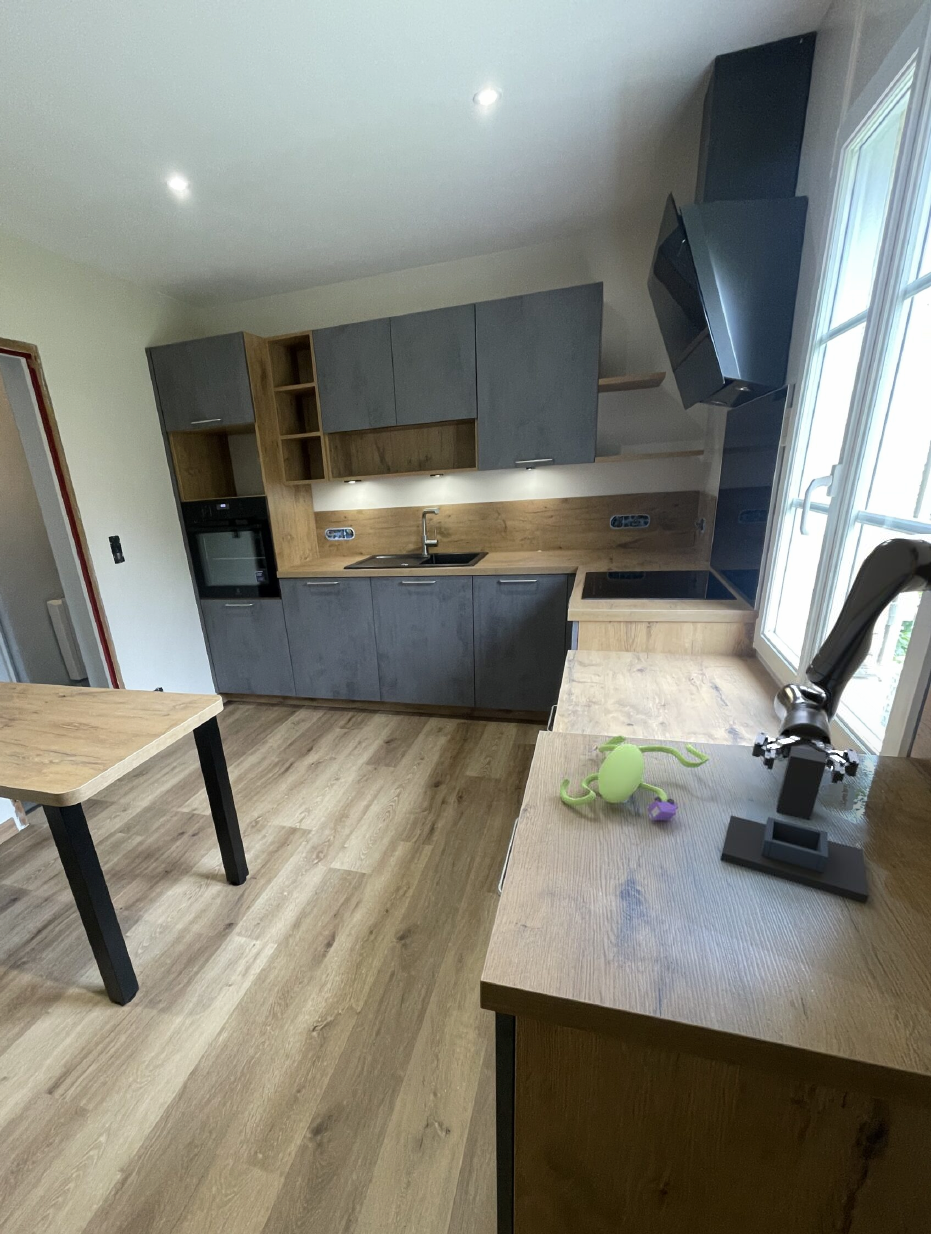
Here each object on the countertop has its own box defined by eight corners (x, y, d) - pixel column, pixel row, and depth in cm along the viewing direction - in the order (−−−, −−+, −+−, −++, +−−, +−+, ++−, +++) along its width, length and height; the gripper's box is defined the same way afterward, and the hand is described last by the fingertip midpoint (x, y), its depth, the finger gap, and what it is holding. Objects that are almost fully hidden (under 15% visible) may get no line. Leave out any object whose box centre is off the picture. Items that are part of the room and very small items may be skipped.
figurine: (710, 772, 100) (715, 744, 98) (665, 842, 81) (671, 810, 79) (609, 745, 111) (612, 719, 109) (549, 801, 92) (551, 772, 90)
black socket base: (860, 856, 77) (867, 834, 75) (865, 903, 68) (874, 879, 67) (729, 821, 85) (734, 801, 84) (720, 859, 77) (725, 837, 76)
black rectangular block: (810, 808, 88) (825, 752, 84) (809, 820, 85) (826, 762, 81) (777, 800, 90) (791, 745, 87) (776, 811, 87) (790, 755, 84)
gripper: (762, 707, 102) (755, 739, 90) (859, 723, 94) (866, 760, 82) (754, 743, 105) (746, 780, 92) (848, 762, 97) (852, 804, 85)
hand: (802, 771), depth 87 cm, fingers open, 8 cm apart
